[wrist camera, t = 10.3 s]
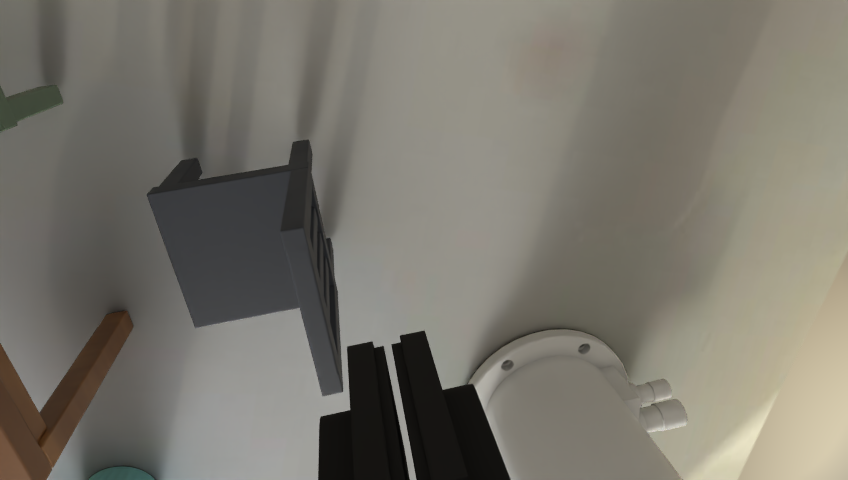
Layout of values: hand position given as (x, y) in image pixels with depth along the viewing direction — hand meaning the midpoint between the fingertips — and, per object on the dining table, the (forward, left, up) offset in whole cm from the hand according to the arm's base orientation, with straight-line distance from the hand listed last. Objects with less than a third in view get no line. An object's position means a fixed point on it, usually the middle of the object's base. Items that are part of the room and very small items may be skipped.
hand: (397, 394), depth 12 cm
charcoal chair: (+5, +2, -21) cm, 21 cm away
